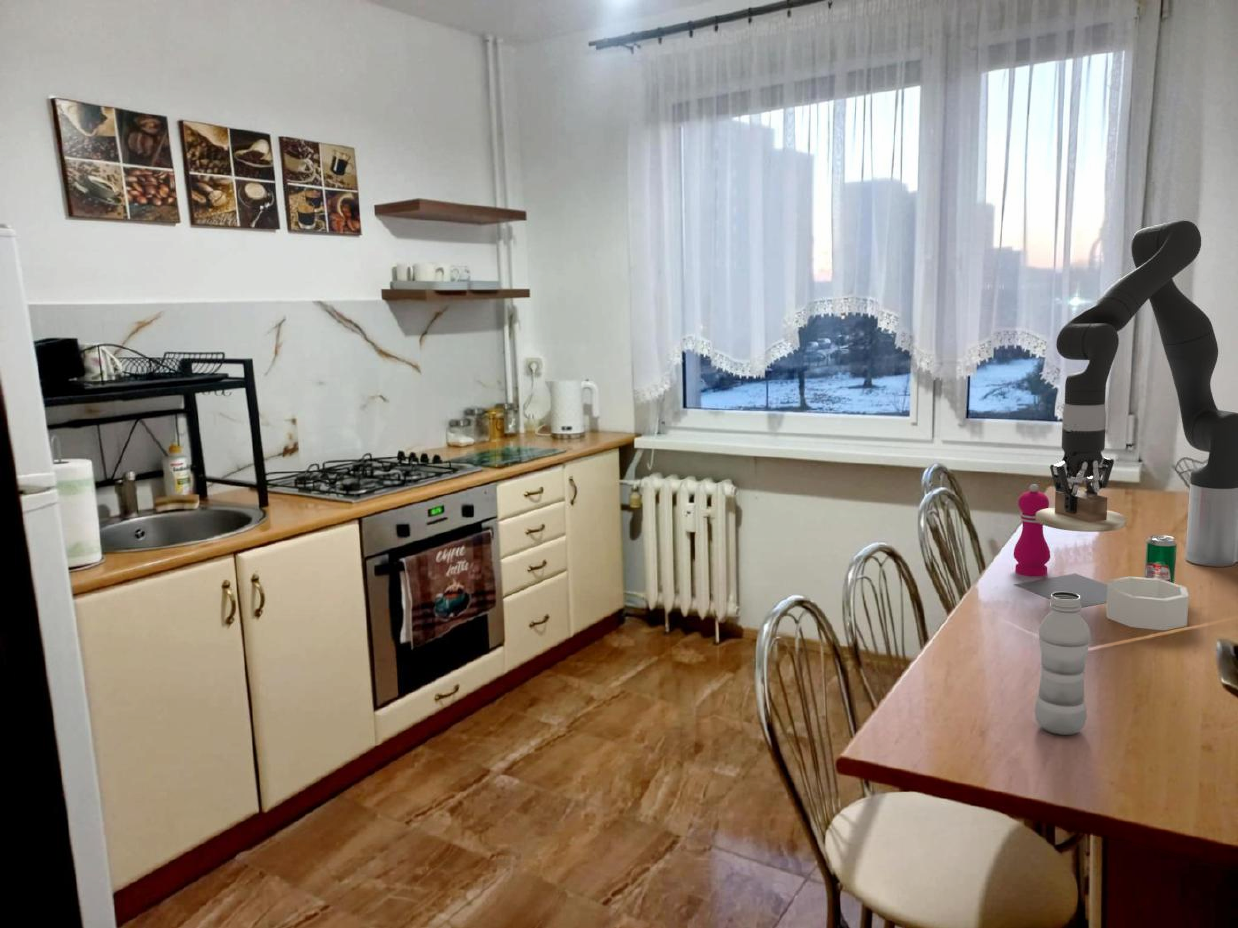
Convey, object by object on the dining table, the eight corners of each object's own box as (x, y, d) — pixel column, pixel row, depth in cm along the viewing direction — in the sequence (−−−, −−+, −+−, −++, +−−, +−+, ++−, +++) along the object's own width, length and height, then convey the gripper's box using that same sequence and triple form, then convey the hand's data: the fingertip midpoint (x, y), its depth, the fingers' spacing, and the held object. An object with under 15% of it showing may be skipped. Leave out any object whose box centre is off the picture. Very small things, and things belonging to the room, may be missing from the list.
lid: (1080, 507, 184) (1081, 482, 183) (1145, 524, 169) (1147, 497, 168) (1017, 517, 180) (1018, 491, 179) (1079, 535, 165) (1080, 507, 164)
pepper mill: (1053, 579, 186) (1057, 487, 182) (1017, 579, 188) (1020, 488, 184) (1044, 568, 193) (1047, 480, 189) (1009, 568, 195) (1012, 480, 191)
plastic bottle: (1024, 720, 127) (1029, 590, 124) (1069, 716, 128) (1074, 586, 124) (1049, 742, 121) (1055, 605, 117) (1096, 738, 122) (1103, 601, 118)
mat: (1075, 575, 188) (1075, 573, 188) (1139, 598, 173) (1139, 595, 173) (1013, 586, 183) (1013, 584, 183) (1074, 610, 168) (1074, 608, 168)
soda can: (1140, 597, 173) (1143, 538, 171) (1146, 590, 177) (1150, 533, 175) (1170, 602, 170) (1173, 542, 168) (1175, 595, 173) (1179, 536, 171)
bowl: (1142, 603, 170) (1143, 573, 169) (1202, 624, 158) (1204, 593, 157) (1090, 613, 166) (1091, 583, 165) (1148, 636, 155) (1149, 603, 154)
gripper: (1097, 420, 177) (1093, 503, 180) (1039, 427, 173) (1036, 512, 176) (1128, 425, 170) (1124, 511, 173) (1069, 432, 166) (1065, 520, 169)
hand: (1080, 511), depth 174 cm, fingers closed on lid, 4 cm apart
